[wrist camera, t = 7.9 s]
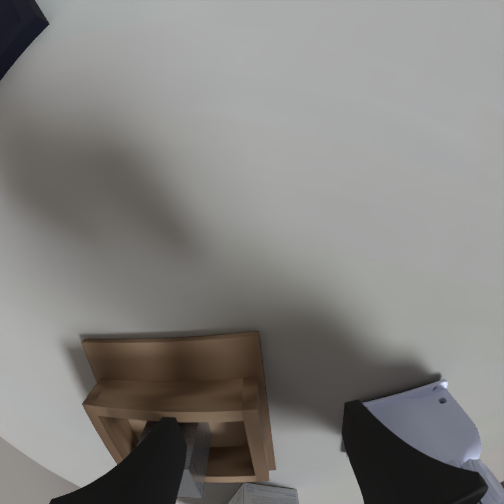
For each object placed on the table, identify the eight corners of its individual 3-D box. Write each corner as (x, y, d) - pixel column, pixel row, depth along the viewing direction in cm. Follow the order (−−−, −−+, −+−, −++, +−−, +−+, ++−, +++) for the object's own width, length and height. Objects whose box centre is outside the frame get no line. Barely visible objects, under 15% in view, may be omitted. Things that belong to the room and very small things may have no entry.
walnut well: (258, 331, 20) (259, 364, 16) (275, 465, 24) (277, 497, 19) (84, 339, 20) (59, 365, 16) (143, 463, 24) (133, 491, 20)
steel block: (202, 401, 21) (188, 469, 14) (211, 434, 22) (202, 498, 15) (155, 400, 21) (129, 463, 14) (167, 433, 22) (149, 492, 15)
